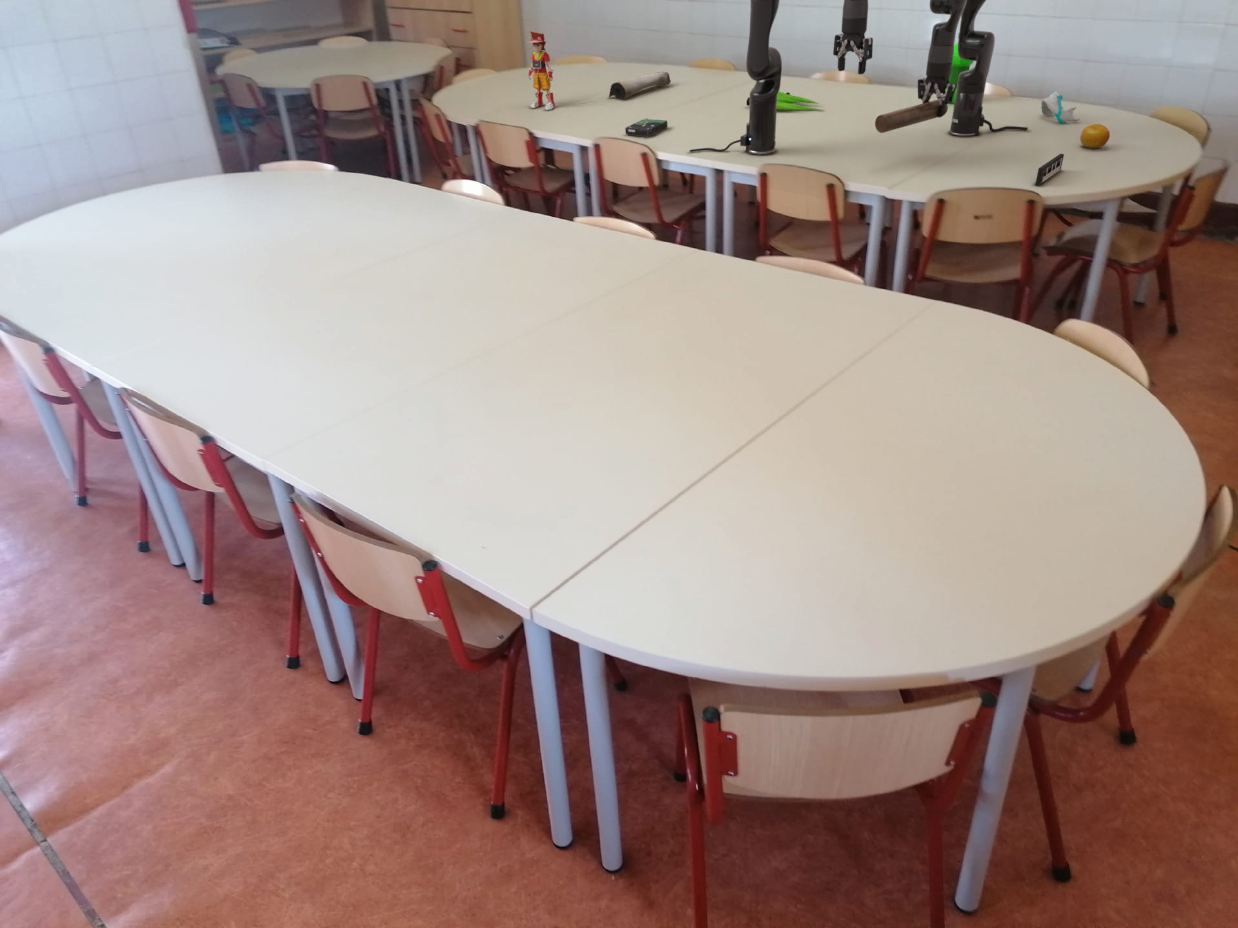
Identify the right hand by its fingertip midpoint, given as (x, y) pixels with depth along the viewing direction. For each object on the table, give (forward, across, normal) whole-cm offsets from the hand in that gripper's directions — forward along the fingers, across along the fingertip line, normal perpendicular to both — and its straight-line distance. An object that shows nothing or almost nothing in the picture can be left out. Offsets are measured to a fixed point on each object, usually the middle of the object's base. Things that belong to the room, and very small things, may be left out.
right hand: (932, 115), depth 292 cm
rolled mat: (+13, -148, -15) cm, 149 cm away
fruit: (+13, +30, +45) cm, 56 cm away
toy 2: (+13, -81, +11) cm, 83 cm away
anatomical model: (+14, +2, +67) cm, 68 cm away
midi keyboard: (+13, +40, +8) cm, 43 cm away
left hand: (-15, -13, -25) cm, 32 cm away
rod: (+1, 0, -10) cm, 10 cm away
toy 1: (+13, -155, -60) cm, 167 cm away
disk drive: (+13, -92, -50) cm, 105 cm away
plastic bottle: (+14, -40, +62) cm, 75 cm away
